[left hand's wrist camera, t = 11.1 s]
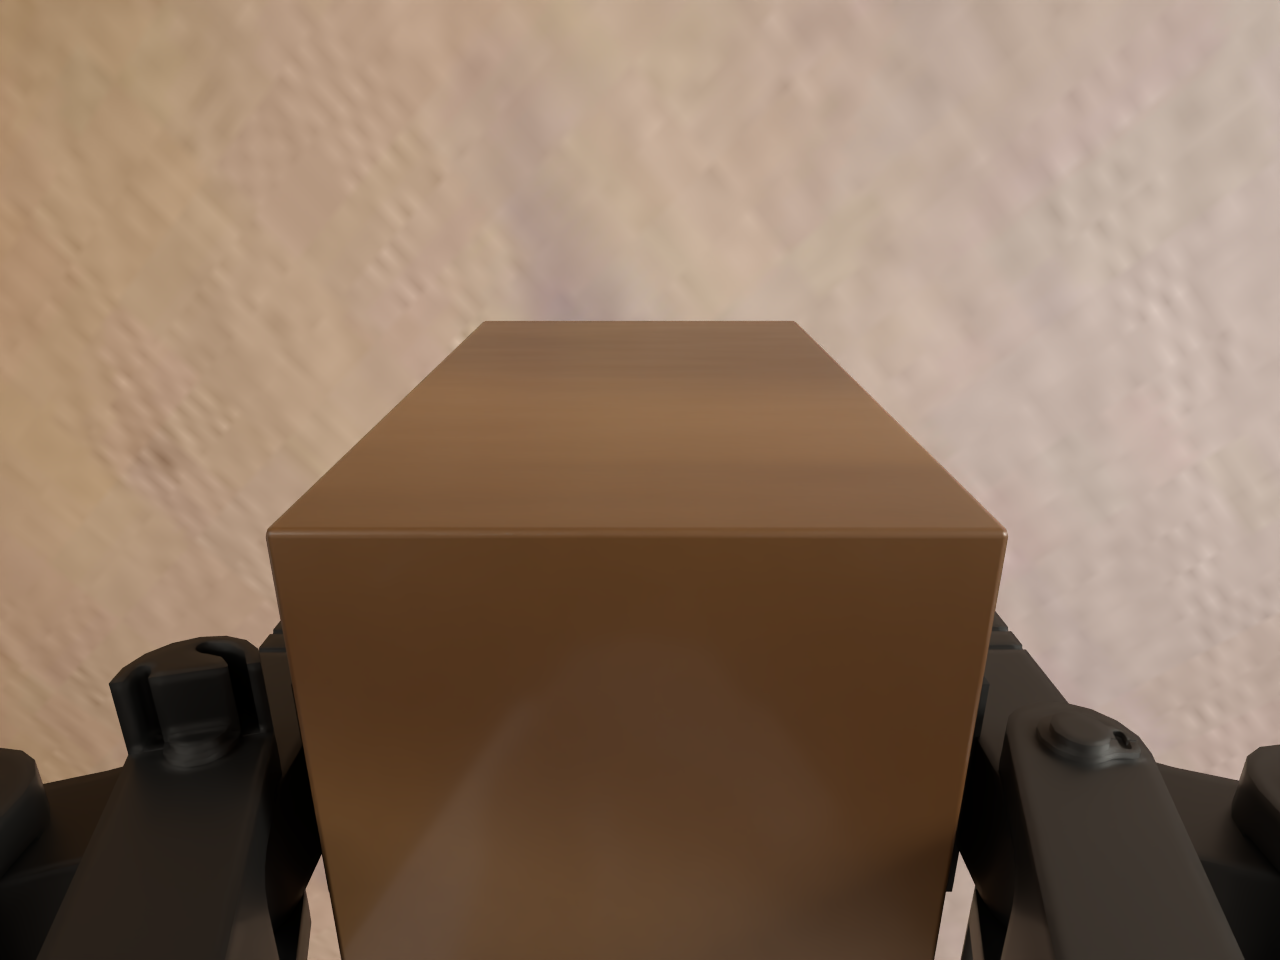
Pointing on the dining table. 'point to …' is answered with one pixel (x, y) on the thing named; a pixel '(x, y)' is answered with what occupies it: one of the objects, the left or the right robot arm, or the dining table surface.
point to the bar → (637, 654)
